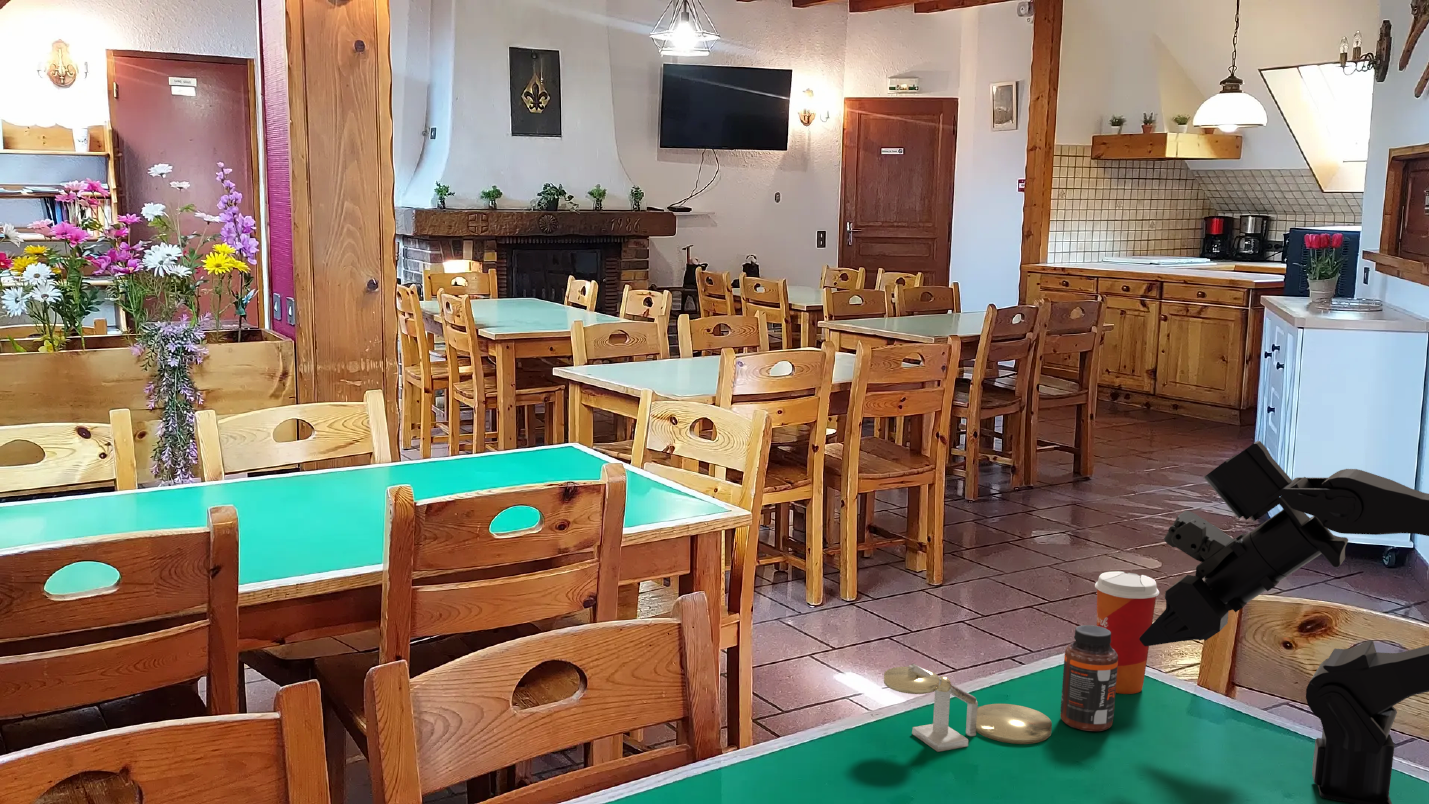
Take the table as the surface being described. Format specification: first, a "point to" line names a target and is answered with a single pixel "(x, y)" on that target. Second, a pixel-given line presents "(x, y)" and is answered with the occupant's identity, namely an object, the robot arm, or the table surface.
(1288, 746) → the table surface
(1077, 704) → the supplement bottle
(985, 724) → the balance
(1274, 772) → the table surface
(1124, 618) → the paper cup
